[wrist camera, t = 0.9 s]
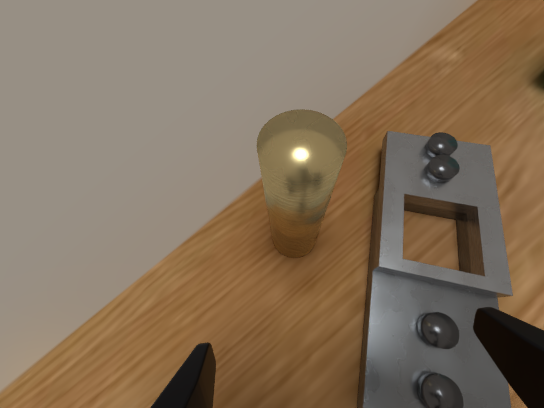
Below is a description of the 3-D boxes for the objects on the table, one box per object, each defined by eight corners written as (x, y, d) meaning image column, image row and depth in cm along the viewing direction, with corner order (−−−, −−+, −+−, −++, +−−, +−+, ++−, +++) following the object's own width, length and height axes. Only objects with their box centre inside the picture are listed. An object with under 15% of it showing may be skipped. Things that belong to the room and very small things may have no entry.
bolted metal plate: (499, 451, 17) (556, 485, 13) (356, 408, 18) (373, 428, 15) (469, 163, 27) (498, 138, 23) (377, 149, 28) (391, 123, 25)
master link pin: (318, 256, 23) (355, 177, 11) (273, 259, 24) (258, 184, 11) (312, 214, 25) (338, 106, 13) (271, 217, 25) (255, 113, 13)
